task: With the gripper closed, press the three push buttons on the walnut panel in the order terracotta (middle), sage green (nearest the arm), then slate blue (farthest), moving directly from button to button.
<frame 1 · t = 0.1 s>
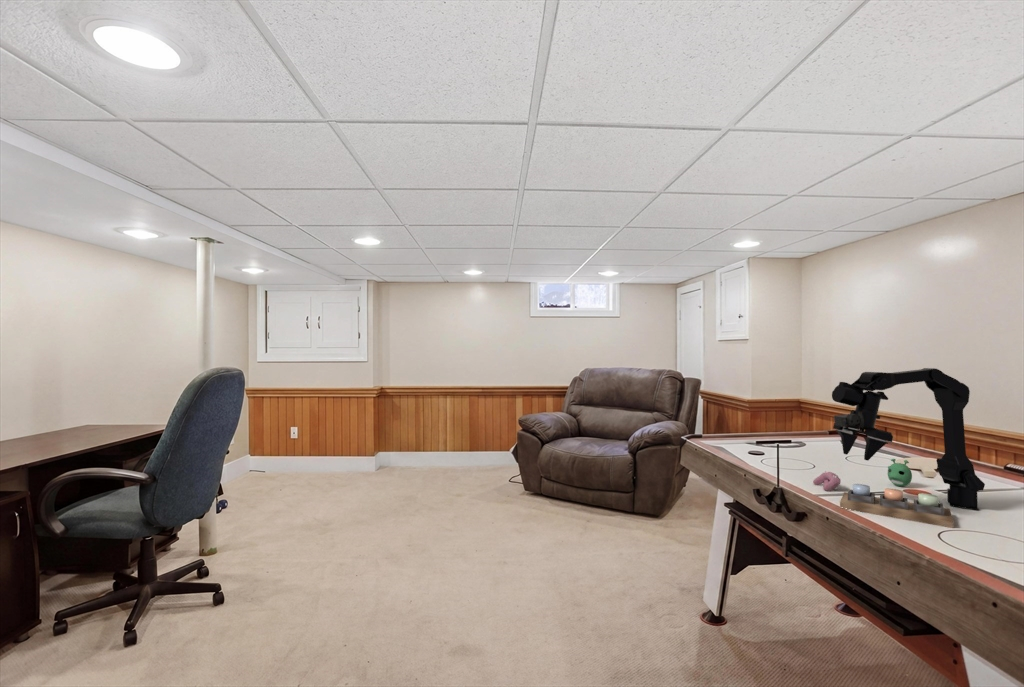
hand: (855, 457, 151), 15 cm above the table, tool pointing down, fingers open, 9 cm apart
sage button: (928, 500, 139), point 5 cm above the table, slide at 0.0 cm
alien toy: (899, 486, 174), on the table
slate button: (861, 490, 150), point 5 cm above the table, slide at 0.0 cm
terracotta button: (893, 495, 145), point 5 cm above the table, slide at 0.0 cm
button panel: (893, 511, 144), on the table
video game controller: (827, 488, 170), on the table
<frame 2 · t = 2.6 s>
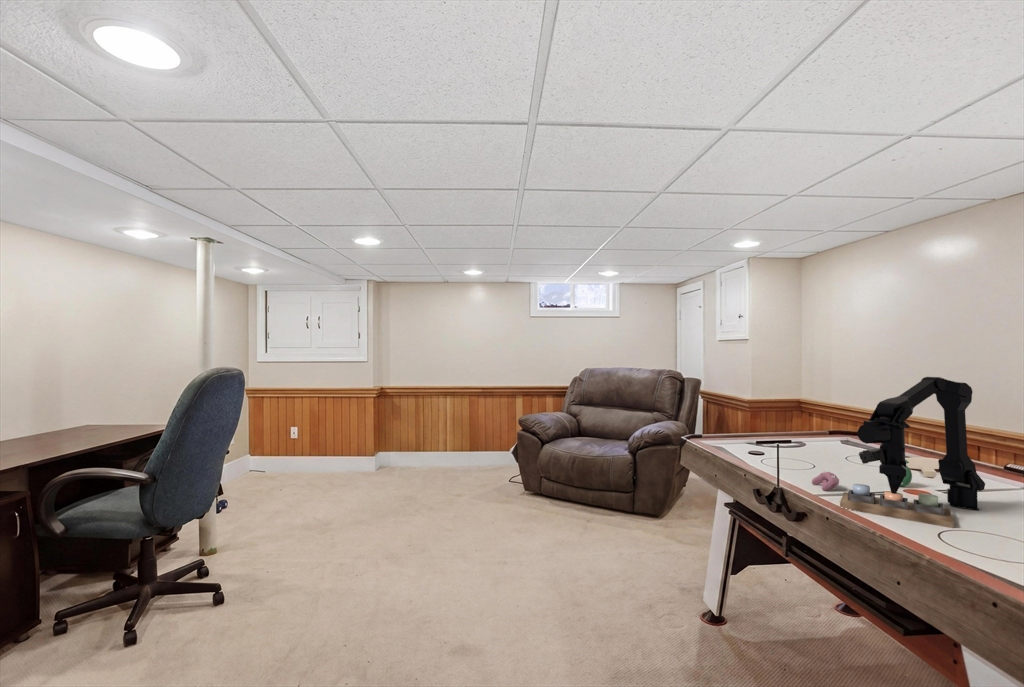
hand: (893, 493, 145), 6 cm above the table, tool pointing down, fingers closed, pressing on terracotta button
terracotta button: (893, 498, 145), point 4 cm above the table, slide at 0.9 cm, touching gripper
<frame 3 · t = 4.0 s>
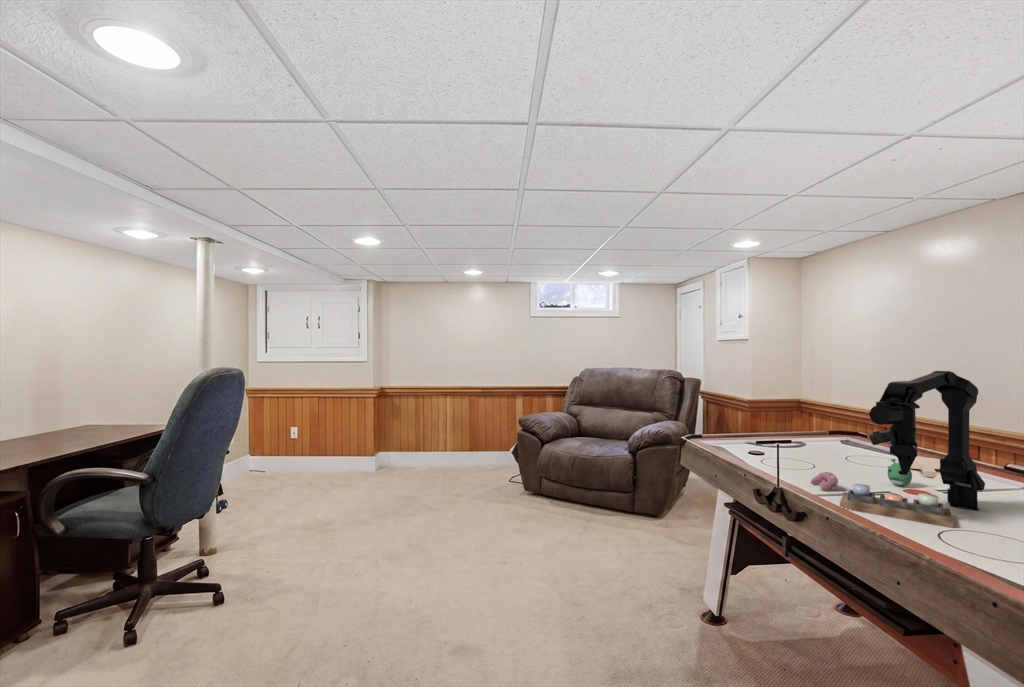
hand: (904, 474, 143), 12 cm above the table, tool pointing down, fingers closed
terracotta button: (893, 500, 145), point 3 cm above the table, slide at 1.5 cm, touching button panel
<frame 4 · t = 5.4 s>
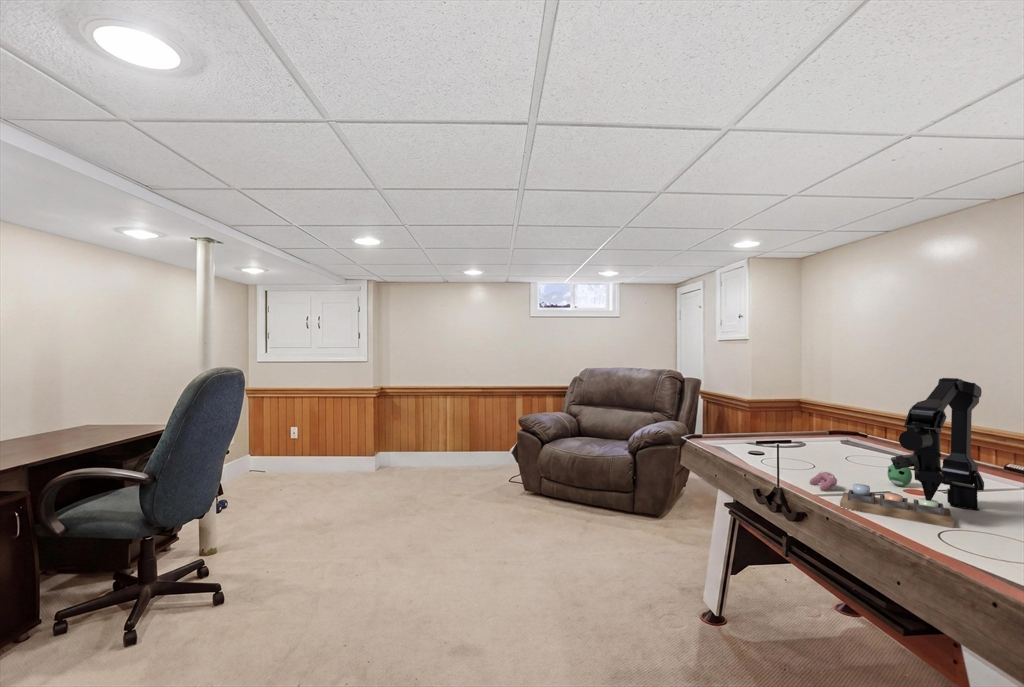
hand: (928, 500, 139), 5 cm above the table, tool pointing down, fingers closed, pressing on sage button
sage button: (928, 505, 139), point 4 cm above the table, slide at 1.5 cm, touching gripper
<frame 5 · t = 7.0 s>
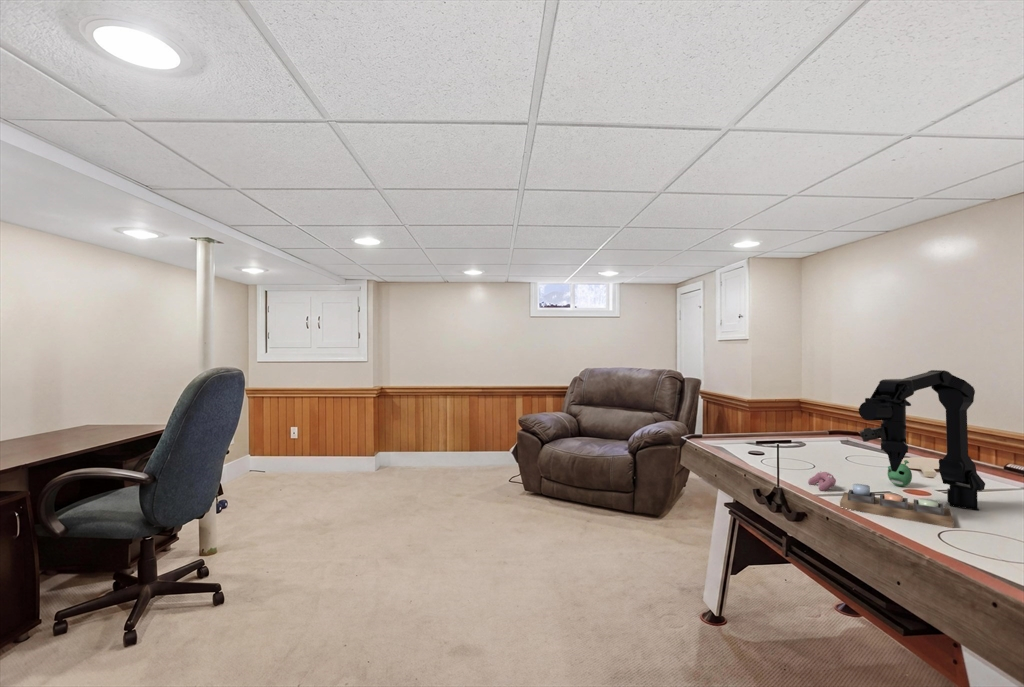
hand: (894, 471, 144), 12 cm above the table, tool pointing down, fingers closed
sage button: (928, 505, 139), point 3 cm above the table, slide at 1.5 cm, touching button panel
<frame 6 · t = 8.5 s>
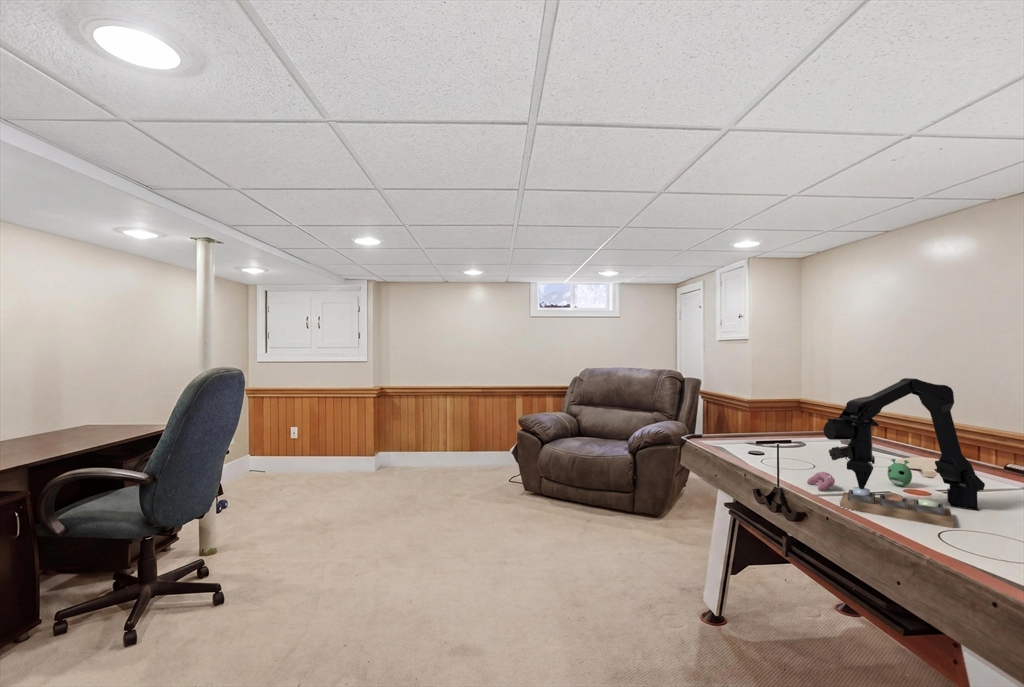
hand: (861, 488, 150), 5 cm above the table, tool pointing down, fingers closed, pressing on slate button
slate button: (861, 493, 150), point 4 cm above the table, slide at 1.0 cm, touching gripper
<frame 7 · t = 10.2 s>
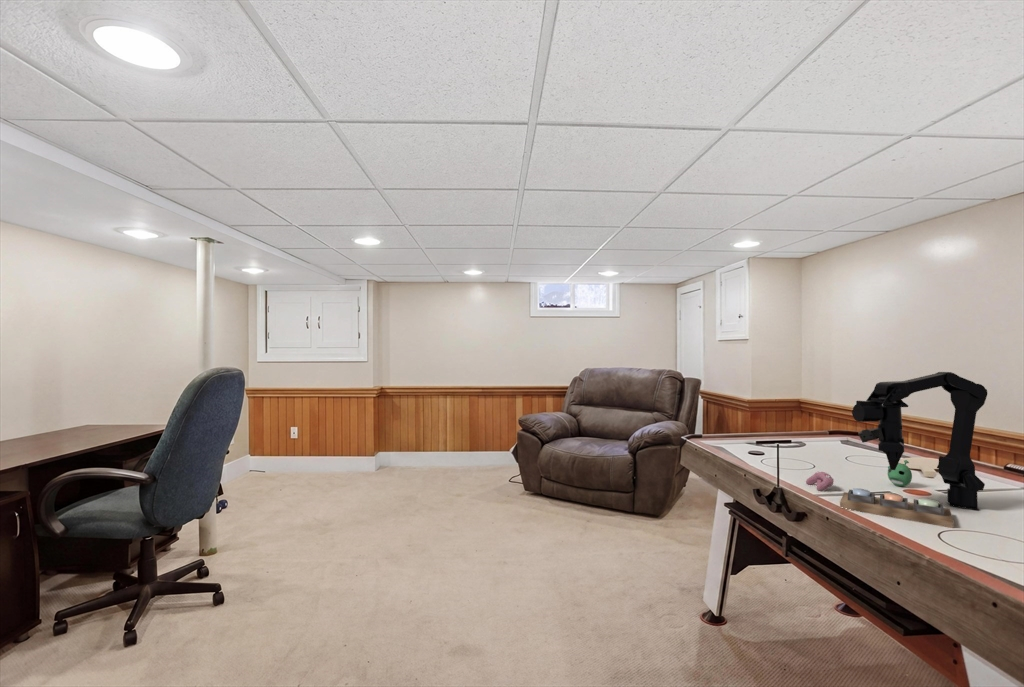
hand: (892, 469, 151), 11 cm above the table, tool pointing down, fingers closed
slate button: (861, 495, 150), point 3 cm above the table, slide at 1.5 cm, touching button panel
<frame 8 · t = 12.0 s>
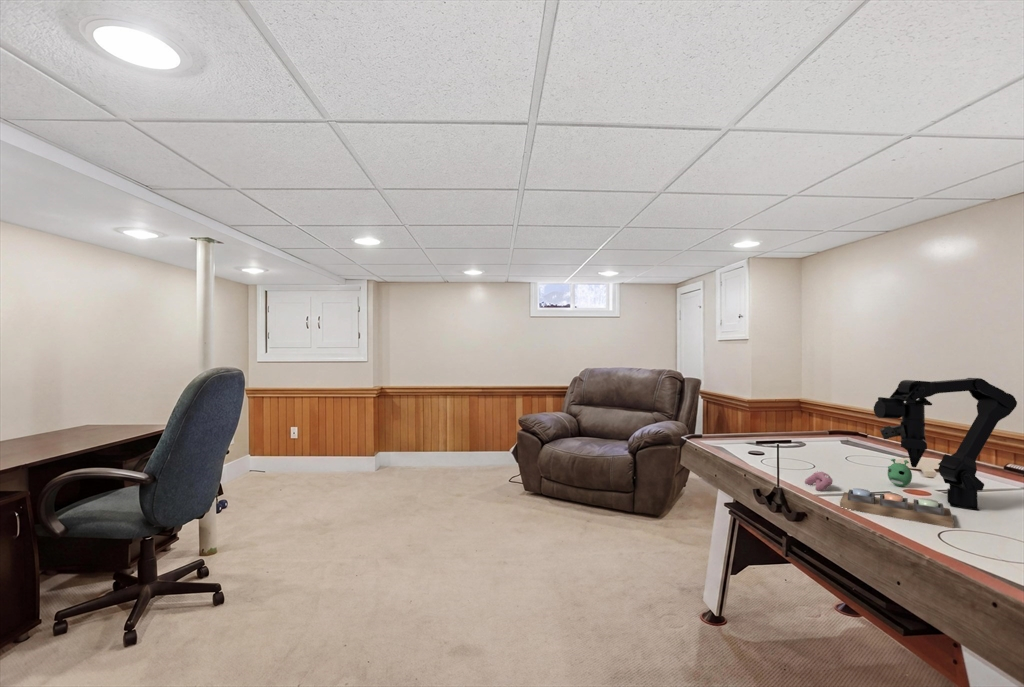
hand: (913, 467, 152), 12 cm above the table, tool pointing down, fingers closed
at the end: terracotta button slide at 1.5 cm; sage button slide at 1.5 cm; slate button slide at 1.5 cm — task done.
